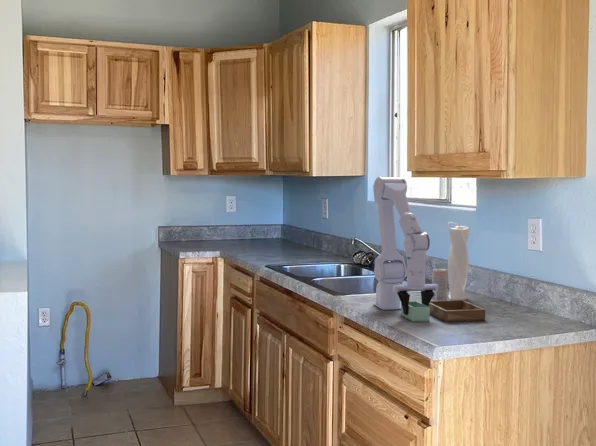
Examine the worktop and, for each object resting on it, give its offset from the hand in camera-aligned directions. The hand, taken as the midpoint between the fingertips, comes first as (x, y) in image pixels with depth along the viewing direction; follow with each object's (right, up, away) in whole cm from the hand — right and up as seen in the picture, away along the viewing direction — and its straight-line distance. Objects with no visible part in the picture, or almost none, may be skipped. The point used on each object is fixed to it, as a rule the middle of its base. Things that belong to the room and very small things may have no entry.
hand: (414, 313), depth 217 cm
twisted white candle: (+21, +1, +34) cm, 40 cm away
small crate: (0, -1, 0) cm, 1 cm away
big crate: (+13, -1, +4) cm, 14 cm away
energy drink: (+13, 0, +25) cm, 28 cm away
